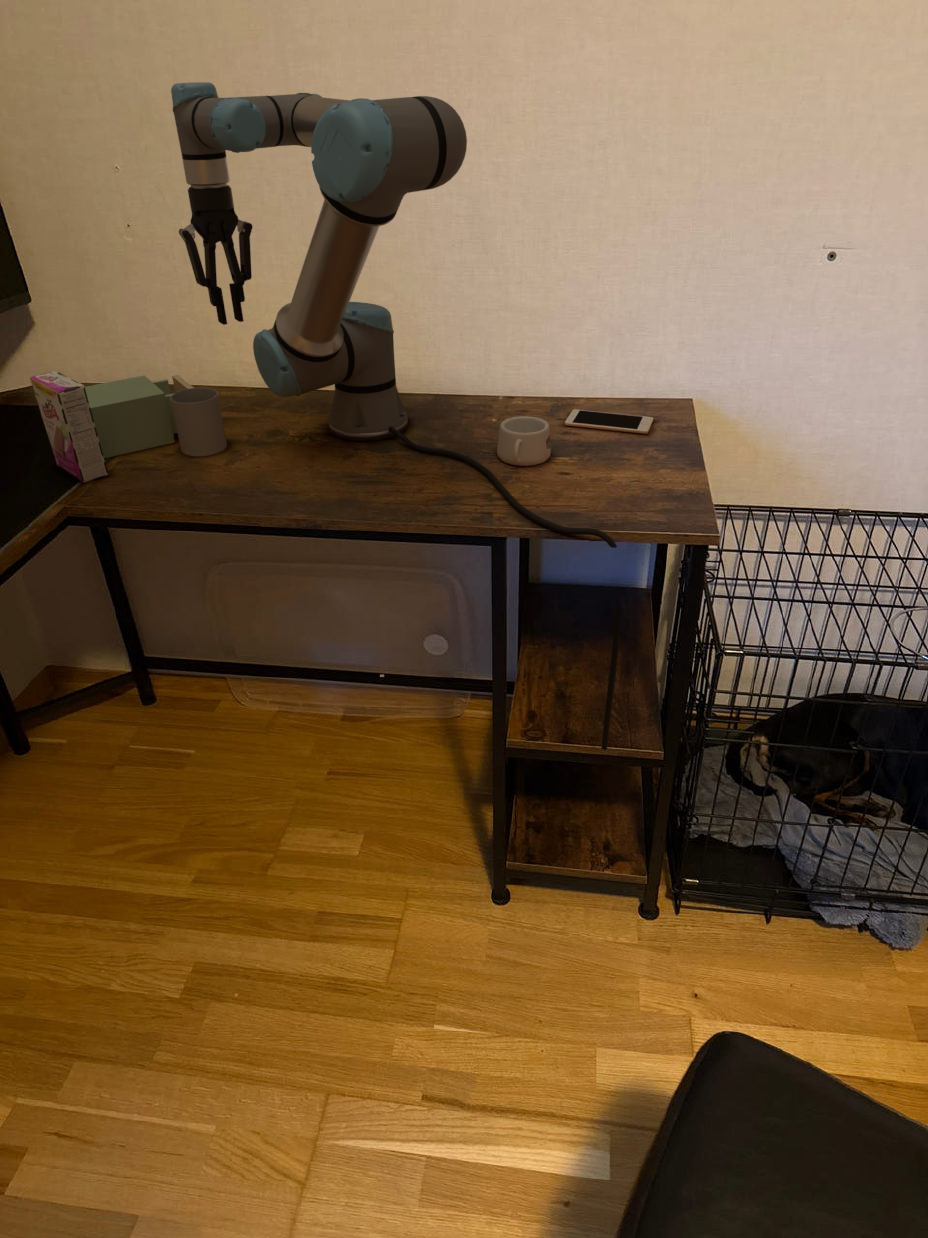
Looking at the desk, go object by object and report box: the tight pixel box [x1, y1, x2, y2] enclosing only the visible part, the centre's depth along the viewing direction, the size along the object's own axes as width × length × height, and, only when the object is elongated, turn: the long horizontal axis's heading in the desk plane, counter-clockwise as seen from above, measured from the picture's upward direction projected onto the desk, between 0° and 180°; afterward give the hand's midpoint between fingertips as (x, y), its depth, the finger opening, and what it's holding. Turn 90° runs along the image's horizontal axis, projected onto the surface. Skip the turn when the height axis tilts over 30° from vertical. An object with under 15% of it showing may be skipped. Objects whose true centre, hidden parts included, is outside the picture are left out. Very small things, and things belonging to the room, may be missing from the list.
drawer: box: [151, 374, 195, 435], centre depth 166 cm, size 18×11×8 cm, turn 124°
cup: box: [171, 387, 228, 457], centre depth 158 cm, size 8×8×10 cm
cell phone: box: [564, 408, 654, 435], centre depth 168 cm, size 8×16×1 cm, turn 71°
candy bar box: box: [29, 370, 109, 484], centre depth 148 cm, size 11×5×16 cm, turn 45°
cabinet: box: [85, 375, 176, 459], centre depth 162 cm, size 15×13×10 cm
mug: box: [496, 415, 552, 467], centre depth 152 cm, size 12×10×6 cm
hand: (231, 321), depth 165 cm, fingers open, 3 cm apart
